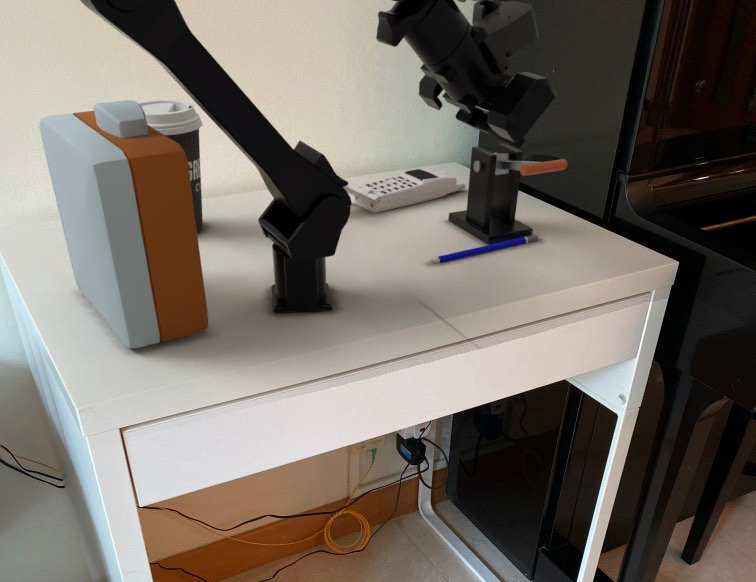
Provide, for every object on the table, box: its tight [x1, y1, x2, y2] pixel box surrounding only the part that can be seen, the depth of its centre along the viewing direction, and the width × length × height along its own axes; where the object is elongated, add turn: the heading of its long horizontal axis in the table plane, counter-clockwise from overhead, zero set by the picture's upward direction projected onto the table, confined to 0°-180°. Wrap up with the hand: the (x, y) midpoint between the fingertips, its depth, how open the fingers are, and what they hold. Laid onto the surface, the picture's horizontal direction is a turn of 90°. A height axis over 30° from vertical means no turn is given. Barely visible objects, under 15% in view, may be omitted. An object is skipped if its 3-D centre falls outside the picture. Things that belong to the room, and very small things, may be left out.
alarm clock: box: [39, 99, 209, 349], centre depth 79 cm, size 18×9×21 cm, turn 33°
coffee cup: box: [137, 99, 204, 235], centre depth 101 cm, size 10×10×15 cm
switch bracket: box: [448, 142, 534, 245], centre depth 104 cm, size 10×7×10 cm
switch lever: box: [492, 152, 568, 177], centre depth 98 cm, size 12×6×2 cm, turn 27°
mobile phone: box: [343, 167, 467, 214], centre depth 113 cm, size 6×6×25 cm
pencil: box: [430, 234, 539, 264], centre depth 100 cm, size 17×1×1 cm, turn 121°
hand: (520, 144), depth 90 cm, fingers closed
